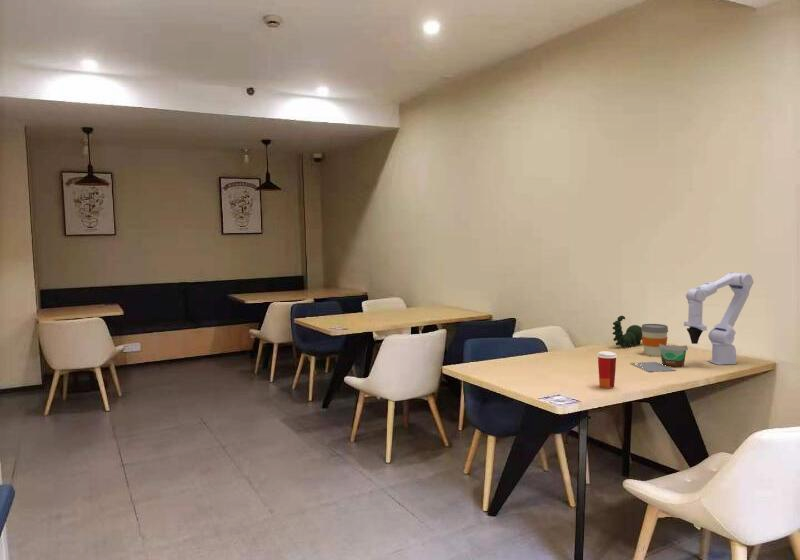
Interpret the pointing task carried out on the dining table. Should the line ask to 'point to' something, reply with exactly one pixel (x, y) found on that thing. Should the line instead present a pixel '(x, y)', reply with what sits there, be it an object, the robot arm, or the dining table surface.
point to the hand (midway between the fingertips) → (694, 343)
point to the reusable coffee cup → (654, 338)
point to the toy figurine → (627, 334)
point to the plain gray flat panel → (653, 366)
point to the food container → (673, 355)
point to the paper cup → (606, 368)
